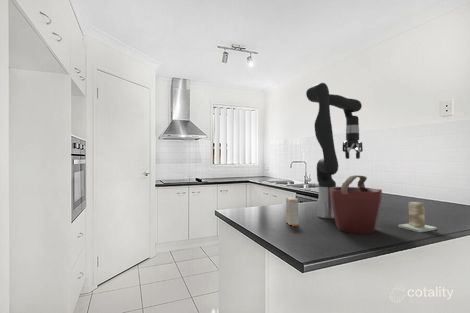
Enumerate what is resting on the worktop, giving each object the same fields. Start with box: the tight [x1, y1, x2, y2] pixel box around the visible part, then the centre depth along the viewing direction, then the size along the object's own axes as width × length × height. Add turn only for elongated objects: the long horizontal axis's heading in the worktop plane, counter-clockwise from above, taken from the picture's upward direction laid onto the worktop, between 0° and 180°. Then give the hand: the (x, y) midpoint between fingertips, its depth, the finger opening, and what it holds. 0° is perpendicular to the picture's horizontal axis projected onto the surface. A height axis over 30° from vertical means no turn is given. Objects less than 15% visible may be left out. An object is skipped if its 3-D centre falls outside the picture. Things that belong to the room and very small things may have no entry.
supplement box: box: [285, 196, 299, 227], centre depth 131 cm, size 8×5×13 cm, turn 179°
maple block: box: [408, 201, 426, 228], centre depth 122 cm, size 4×4×11 cm
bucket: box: [330, 175, 383, 235], centre depth 121 cm, size 24×22×25 cm
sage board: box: [397, 222, 437, 233], centre depth 122 cm, size 12×10×1 cm
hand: (352, 158), depth 162 cm, fingers open, 8 cm apart
